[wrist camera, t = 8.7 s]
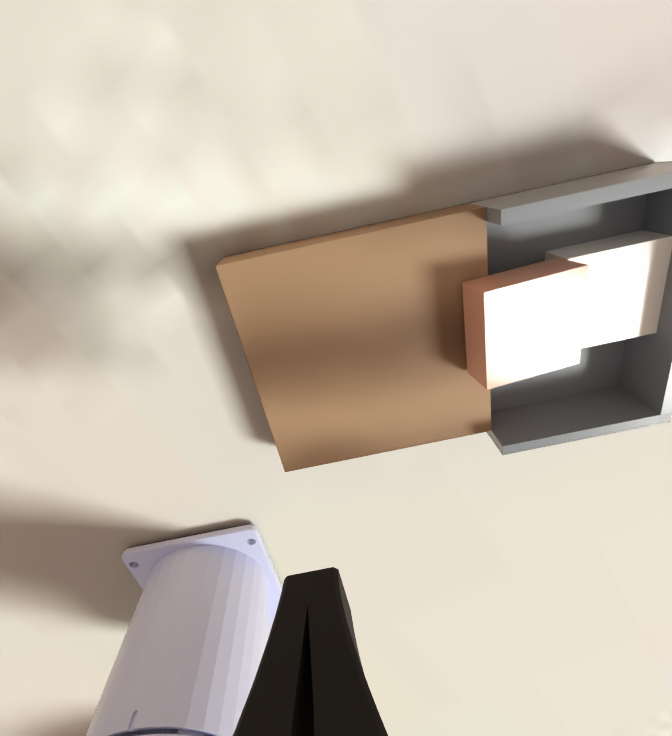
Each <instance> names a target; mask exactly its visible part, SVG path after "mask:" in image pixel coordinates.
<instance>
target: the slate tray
mask: <svg viewBox="0 0 672 736" xmlns="http://www.w3.org/2000/svg"><path fill="white" fill-rule="evenodd" d="M468 204H473V205H479V206H484V207H486V218H487V262H488V276H489V275H493V274H496V273H500V272H504V271H508V270H512V269H516V268H519V267H523V266H527V265H531V264H535V263H538V262H542V261H545V251H549V250H553V249H558V248H562V247H567V246H572V245H576V244H581V243H585V242H590V241H595V240H599V239H604V238H608V237H613V236H618V235H622V234H627V233H631V232H636V231H640V230H643V231H649V232H655V233H661V234H667V235H672V161H670V162H654V163H649V164H645V165H640V166H636V167H631V168H627V169H622V170H618V171H613V172H609V173H604V174H599V175H595V176H590V177H586V178H581V179H577V180H572V181H568V182H563V183H559V184H554V185H549V186H545V187H540V188H536V189H531V190H527V191H522V192H518V193H513V194H509V195H504V196H499V197H495V198H490V199H486V200H481V201H477V202H472V203H468ZM490 395H491V431H487V433H488V435H489V436H490V437H491V439H492V440H493V442H494V443H495V445H496V446H497V448H498V449H499V450H500V452H501V453H502V455H506V454H511V453H516V452H521V451H526V450H531V449H536V448H541V447H546V446H551V445H556V444H561V443H566V442H571V441H576V440H581V439H586V438H591V437H596V436H601V435H606V434H611V433H616V432H621V431H626V430H631V429H636V428H641V427H646V426H651V425H656V424H661V423H666V422H670V419H671V415H672V251H671V256H670V262H669V267H668V272H667V278H666V283H665V289H664V294H663V299H662V305H661V310H660V315H659V321H658V326H657V332H656V333H653V334H648V335H644V336H639V337H634V338H629V339H624V340H620V341H615V342H610V343H605V344H600V345H596V346H591V347H586V348H581V352H580V362H579V364H575V365H572V366H568V367H565V368H561V369H558V370H554V371H551V372H547V373H544V374H540V375H537V376H533V377H530V378H527V379H523V380H520V381H516V382H513V383H509V384H506V385H502V386H499V387H495V388H492V389H490Z"/></svg>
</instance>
